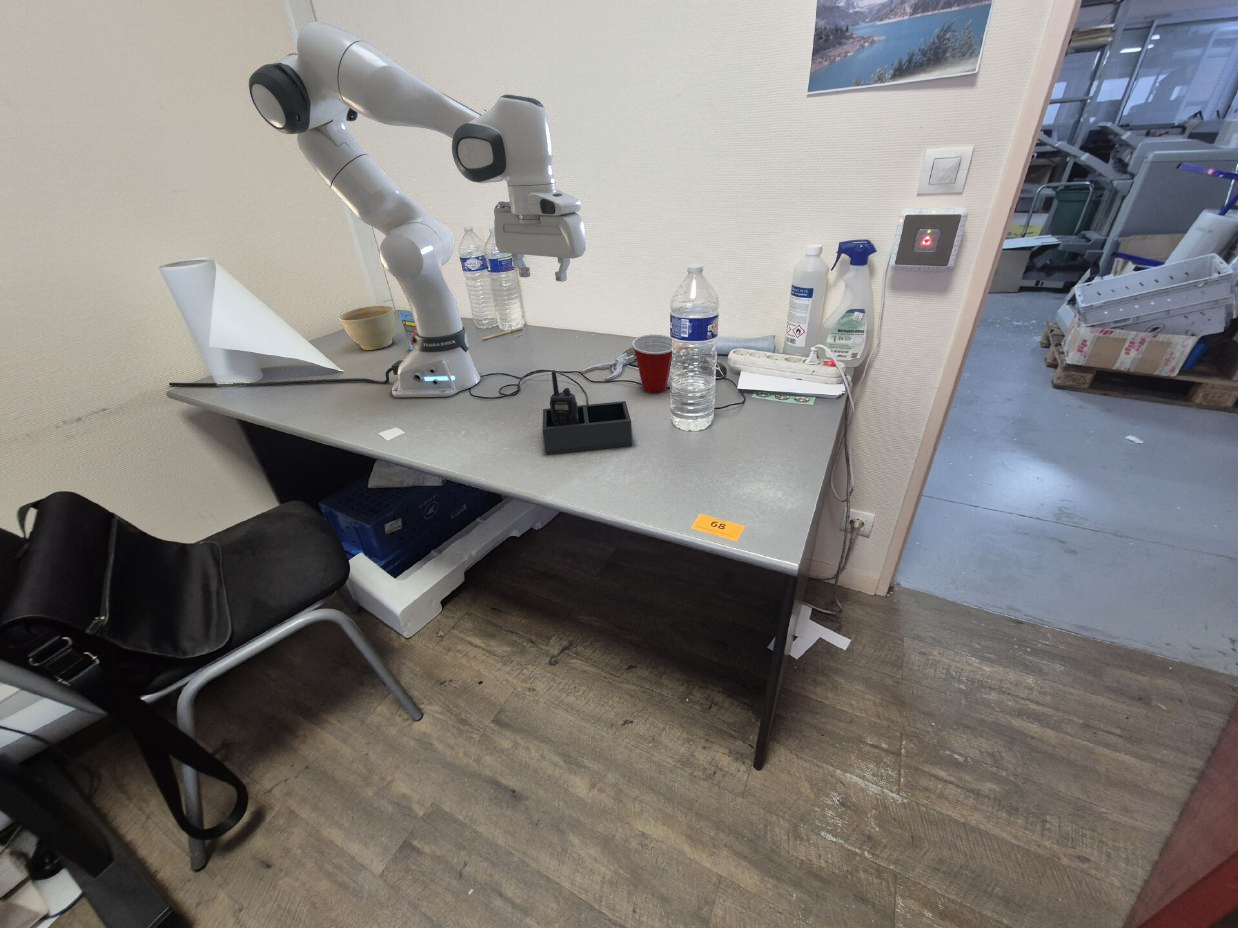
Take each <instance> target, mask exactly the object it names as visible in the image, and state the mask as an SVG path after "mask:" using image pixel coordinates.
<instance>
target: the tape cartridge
mask: <svg viewBox="0 0 1238 928" xmlns="http://www.w3.org/2000/svg"><path fill="white" fill-rule="evenodd" d="M398 312H399V316H400V320H401V322H402V325H403V329H404V332H405V335H406V339H407V343H408V346H409V350H410V351H412V350H413V349H414V347H413V345H411V342H410V341H411V337H412V336H413V335H412V334H413V332H414V331H415V330H417V329H416V326H415V322H414V319H413V315H412V312H406V311H400V310H398ZM409 317H411V318H409Z"/></svg>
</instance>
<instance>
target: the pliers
mask: <svg viewBox="0 0 1238 928" xmlns="http://www.w3.org/2000/svg"><path fill="white" fill-rule="evenodd" d="M635 358H636V357H635V355H634V354H633V355H629V356H628V353H627V352H624V353H622V354H620V355H619V356H617V357H615V360H614V361H610V362H602V363H596V364H593V365H590V366H587V367H585V368H583V369H581V371H580V373H581V375H582V374H585V373H587V372H590V371H594V370H609V369H610V368H611V374H610V375H608V376H607V377H605V382H609V381H611V380H613V379H615V378H617V377H619V376H620V374H621V373H622V371H623V367H624V366H627V365H629V364H631V363H633V362H635ZM614 366H616V369H615V368H614Z"/></svg>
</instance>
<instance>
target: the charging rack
mask: <svg viewBox="0 0 1238 928" xmlns="http://www.w3.org/2000/svg"><path fill="white" fill-rule="evenodd" d="M577 407H578V419H579V424H574V425H564V426H554V427H553V421H552V414H551V410H550V407H548V408H543V409H542V426H541V427H542V429H541V430H542V436H543V437H542V438H543V443H544V450H545V455H546V456H547V455H558V454H568V453H576V452H585V451H595V450H606V449H607V450H608V449H615V448H626V447H633V432H632V431H633V430H632V428H633V427H632V419H631V415H630V412H629V409H628V405H627V401H626V400H622V401H612V402H601V403H591V404H582V405H581V404H579V405H577Z"/></svg>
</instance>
